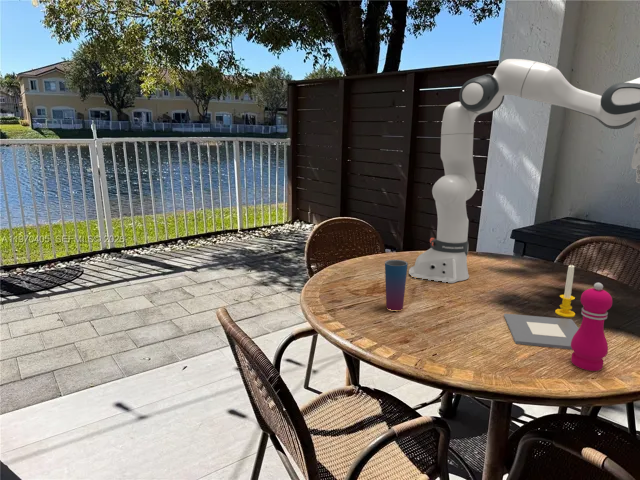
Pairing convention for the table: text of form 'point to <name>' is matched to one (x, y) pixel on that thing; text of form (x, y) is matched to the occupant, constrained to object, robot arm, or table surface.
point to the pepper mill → (592, 330)
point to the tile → (541, 330)
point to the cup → (395, 283)
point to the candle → (567, 296)
